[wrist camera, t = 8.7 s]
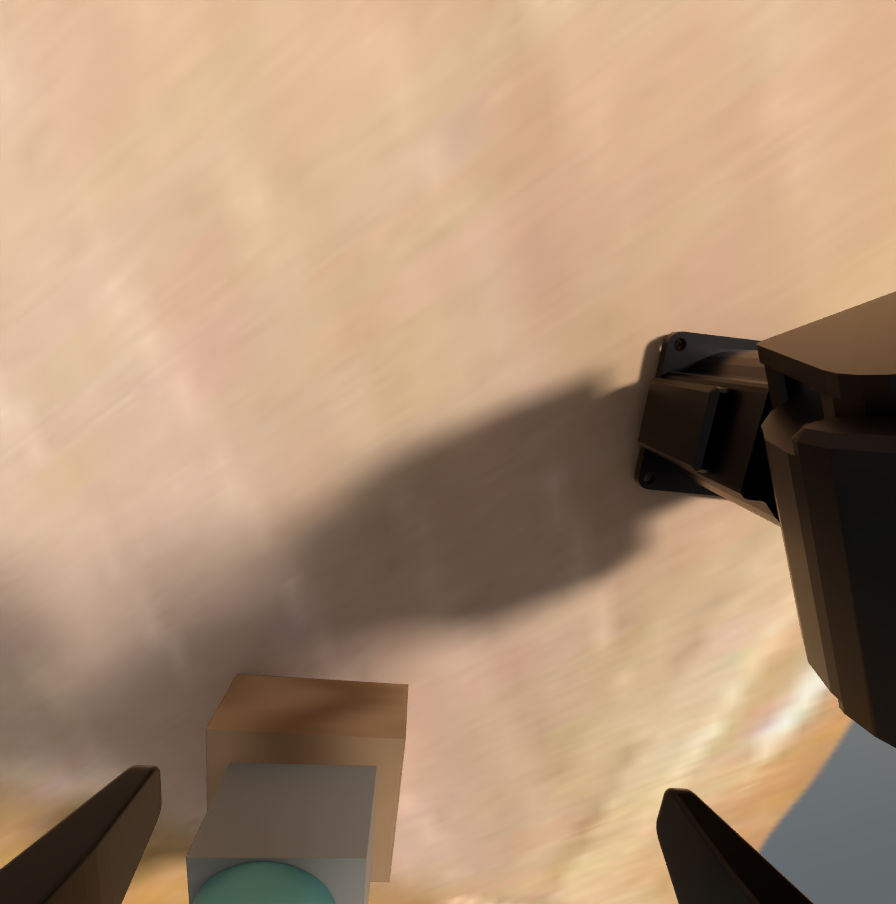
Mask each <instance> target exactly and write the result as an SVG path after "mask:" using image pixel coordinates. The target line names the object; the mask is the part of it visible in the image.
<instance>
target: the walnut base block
mask: <svg viewBox="0 0 896 904" xmlns="http://www.w3.org/2000/svg"><path fill="white" fill-rule="evenodd" d="M407 700H408V685H406V684H390V683H373V682H357V681H341V680H324V679H308V678H291V677H275V676H258V675H242V674H237V675H236V677H235V679H234V681H233V682H232V684H231V686H230V688H229V689H228V691H227V693H226V695H225V696H224V698H223V700H222V702H221V704H220V705H219V707H218V709H217V711H216V712H215V714H214V716H213V718H212V720H211V721H210V723H209V725H208V727H207V728H206V757H207V811H208V809H209V807H210V805H211V803H212V800H213V798H214V796H215V794H216V792H217V790H218V787H219V785H220V783H221V781H222V779H223V777H224V774H225V772H226V770H227V768H228V766H229V764H230V763H264V764H315V765H367V766H377V771H376V790H375V808H374V827H373V845H372V864H371V878H370V882H390V873H391V864H392V855H393V847H394V838H395V829H396V820H397V811H398V802H399V793H400V784H401V775H402V766H403V758H404V749H405V740H406V720H407Z"/></svg>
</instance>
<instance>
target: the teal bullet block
mask: <svg viewBox="0 0 896 904" xmlns="http://www.w3.org/2000/svg"><path fill="white" fill-rule="evenodd" d="M193 904H335V901H334V898H333V896H332V894H331V893H330V891H329V890H328V888H327V887H326V886H325V885H324V884H323V883H322V882H321V881H320V880H318V879H317V878H316V877H314V876H313V875H311V874H310V873H308V872H306V871H304V870H302V869H299V868H297V867H294V866H290V865H287V864H282V863H276V862H251V863H244V864H240V865H236V866H233V867H230V868H227V869H225V870H223V871H221V872H219V873H217V874H216V875H214V876H213V877H211V878H210V879H209V880H208V881H206V882H205V883H204V884H203V886H202V887H201V888H200V889H199V891H198V893H197V894H196V896H195V899H194V901H193Z"/></svg>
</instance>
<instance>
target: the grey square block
mask: <svg viewBox="0 0 896 904" xmlns="http://www.w3.org/2000/svg"><path fill="white" fill-rule="evenodd" d="M376 771H377V766H367V765H315V764H264V763H230V764H229V766H228V768H227V770H226V772H225V774H224V777H223V779H222V781H221V783H220V785H219V787H218V790H217V792H216V794H215V796H214V798H213V800H212V803H211V805H210V807H209V809H208V811H207V813H206V815H205V818H204V820H203V822H202V824H201V826H200V828H199V831H198V833H197V835H196V837H195V839H194V841H193V844H192V846H191V848H190V850H189V852H188V854H187V857H186V865H187V879H188V893H189V904H193V901H194V899H195V896H196V894H197V893H198V891H199V889H200V888H201V887H202V886H203V884H204V883H205V882H206V881H208V880H209V879H210V878H211V877H213V876H214V875H216V874H217V873H219V872H221V871H223V870H225V869H227V868H230V867H233V866H236V865H240V864H244V863H251V862H276V863H282V864H287V865H290V866H294V867H297V868H299V869H302V870H304V871H306V872H308V873H310V874H311V875H313V876H314V877H316V878H317V879H318V880H320V881H321V882H322V883H323V884H324V885H325V886H326V887H327V888H328V890H329V891H330V893H331V894H332V896H333V898H334V901H335V904H368V898H369V888H370V878H371V864H372V845H373V827H374V808H375V790H376Z"/></svg>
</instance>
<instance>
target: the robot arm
mask: <svg viewBox="0 0 896 904" xmlns="http://www.w3.org/2000/svg"><path fill="white" fill-rule="evenodd" d="M677 339H679V340H680V342H681V346H680V348H679V349H678V350H677V351H676V350H675V348H674V343H675V341H676V340H677ZM638 441H639V442H640V444H641V447H640V451H639V456H638V460H637V465H636V470H635V476H634V479H635V481H636V483H637V484H639V485H640V486H641V487H643V488H645V489H651V490H661V491H672V492H683V493H693V494H704V495H715V496H722V497H724V498H726V499H728V500H730V501H732V502H734V503H735V504H737V505H739V506H741V507H743V508H745V509H747V510H749V511H751V512H753V513H755V514H757V515H759V516H760V517H762V518H764V519H766V520H768V521H770V522H772V523H774V524H776V525H778V526H780V527H781V531H782V536H783V541H784V546H785V551H786V556H787V561H788V567H789V572H790V577H791V582H792V587H793V592H794V598H795V603H796V608H797V613H798V618H799V623H800V628H801V634H802V638H803V642H804V646H805V651H806V655H807V659H808V662H809V664H810V665H811V666H812V668H813V669H814V670H815V672H816V673H817V674H818V676H819V677H820V678H821V680H822V681H823V682H824V684H825V685H826V686H827V688H828V689H829V690H830V692H831V693H832V694H833V695H834V696H836V697H837V698H838V702H839V708H840V709H841V710H842V711H843V713H844V714H846V715H847V716H848V717H850V718H851V719H852V720H854V721H855V722H856V723H858V724H859V725H860V726H862V727H863V728H864V729H866V730H867V731H868V732H870V733H871V734H873V735H874V736H875V737H877V738H879V739H881V740H882V741H884V742H886V743H888V744H890V745H891V746H893V747H895V748H896V292H893V293H890V294H888V295H885V296H882V297H880V298H877V299H874V300H871V301H869V302H866V303H863V304H861V305H858V306H855V307H852V308H850V309H847V310H844V311H842V312H839V313H836V314H834V315H831V316H828V317H825V318H823V319H820V320H817V321H815V322H812V323H809V324H807V325H804V326H801V327H798V328H796V329H793V330H790V331H788V332H785V333H782V334H780V335H777V336H774V337H771V338H769V339H766V340H763V341H756V340H748V339H740V338H731V337H723V336H715V335H707V334H698V333H690V332H672V333H670V334H669V335H668V336H667V337H666V338H665V339H664V342H663V345H662V349H661V354H660V359H659V363H658V368H657V373H656V377H655V379H654V380H653V381H652V382H651V383H650V387H649V391H648V396H647V401H646V405H645V410H644V415H643V419H642V424H641V429H640V433H639V438H638ZM649 472H651V478H650V479H649V480H648V481H644V477H645V475H646V474H647V473H649ZM160 810H161V781H160V770H159V768H158V767H156V766H145V765H136V766H132V767H130V768H128V769H127V770H126V771H124V772H123V773H122V774H121V775H119V776H118V777H117V778H116V779H114V780H113V781H112V782H110V783H109V784H108V785H107V786H105V787H104V788H103V789H102V790H100V791H99V792H98V793H97V794H95V795H94V796H93V797H91V798H90V799H89V800H88V801H86V802H85V803H84V804H83V805H81V806H80V807H79V808H78V809H76V810H75V811H74V812H72V813H71V814H70V815H69V816H67V817H66V818H65V819H64V820H62V821H61V822H60V823H59V824H57V825H56V826H55V827H53V828H52V829H51V830H50V831H48V832H47V833H46V834H45V835H43V836H42V837H41V838H40V839H38V840H37V841H36V842H34V843H33V844H32V845H31V846H29V847H28V848H27V849H26V850H24V851H23V852H22V853H21V854H19V855H18V856H17V857H15V858H14V859H13V860H12V861H10V862H9V863H8V864H7V865H5V866H4V867H3V868H2V869H0V904H121V903H122V901H123V899H124V897H125V894H126V892H127V890H128V887H129V885H130V883H131V880H132V878H133V876H134V873H135V871H136V869H137V866H138V864H139V862H140V859H141V857H142V855H143V852H144V850H145V848H146V845H147V843H148V841H149V838H150V836H151V834H152V832H153V829H154V827H155V825H156V822H157V820H158V817H159V814H160ZM656 829H657V835H658V839H659V843H660V846H661V849H662V852H663V855H664V859H665V862H666V865H667V868H668V871H669V874H670V878H671V881H672V884H673V887H674V890H675V894H676V897H677V900H678V903H679V904H813V903H812V902H811V901H810V900H809V899H808V898H807V897H806V896H805V895H804V894H803V893H802V892H800V891H799V890H798V889H797V888H796V887H795V886H794V885H793V884H792V883H791V882H790V881H789V880H788V879H786V878H785V877H784V876H783V875H782V874H781V873H780V872H779V871H778V870H777V869H775V868H774V867H773V866H772V865H771V864H770V863H769V862H768V861H767V860H766V859H765V858H764V857H763V856H761V854H759V853H758V852H757V851H756V850H755V849H754V848H753V847H752V846H751V845H750V844H749V843H748V842H746V841H745V840H744V839H743V838H742V837H741V836H740V835H739V834H738V833H737V832H736V831H735V830H733V829H732V828H731V827H730V826H729V825H728V824H727V823H726V822H725V821H724V820H723V819H722V818H721V817H719V816H718V815H717V814H716V813H715V812H714V811H713V810H712V809H711V808H710V807H709V806H708V805H706V804H705V803H704V802H703V801H702V800H701V799H700V798H699V797H698V796H697V795H696V794H694V793H693V792H692V791H690V790H688V789H680V788H669V789H667V790H666V791H665V793H664V796H663V800H662V803H661V807H660V811H659V814H658V818H657V823H656Z"/></svg>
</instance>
